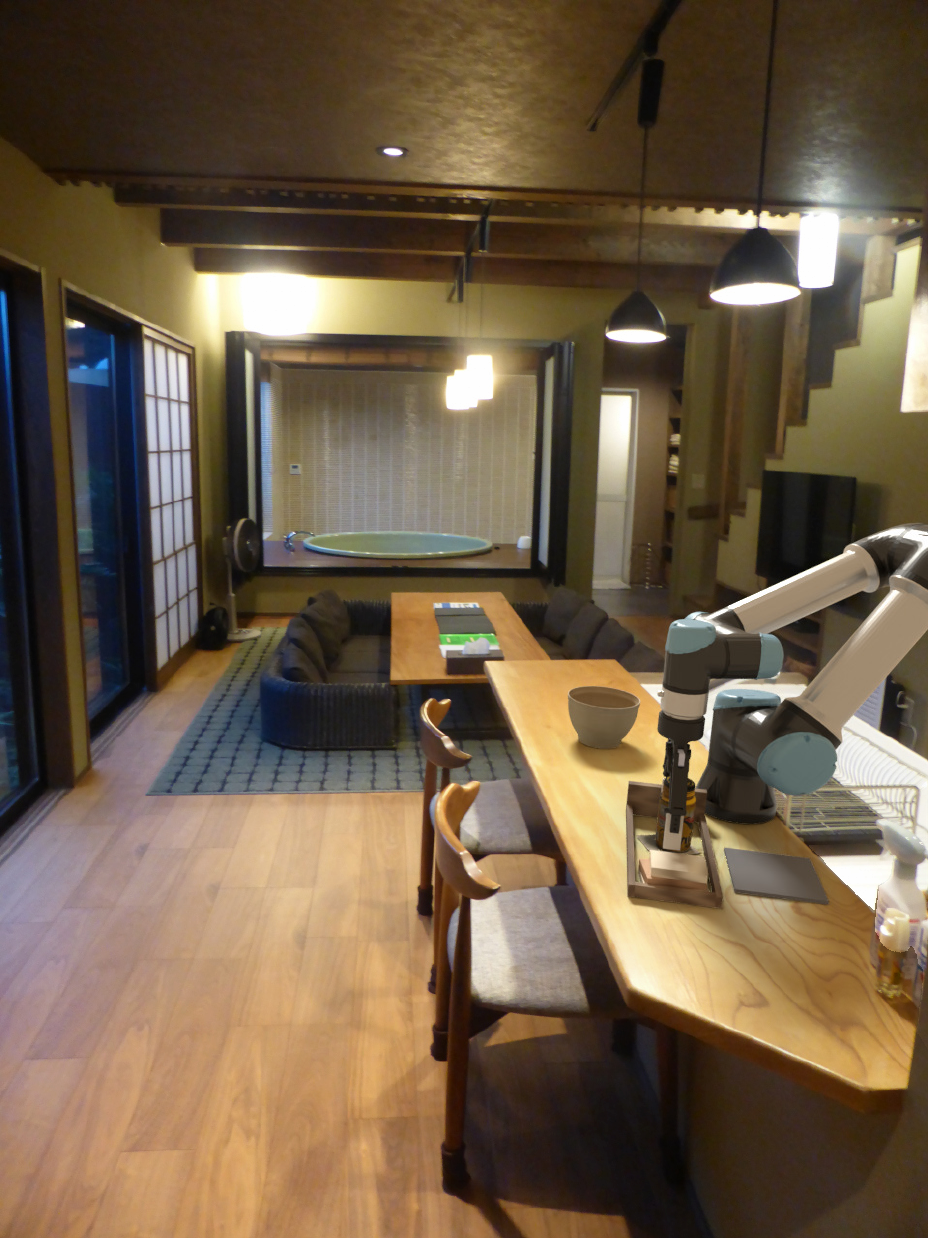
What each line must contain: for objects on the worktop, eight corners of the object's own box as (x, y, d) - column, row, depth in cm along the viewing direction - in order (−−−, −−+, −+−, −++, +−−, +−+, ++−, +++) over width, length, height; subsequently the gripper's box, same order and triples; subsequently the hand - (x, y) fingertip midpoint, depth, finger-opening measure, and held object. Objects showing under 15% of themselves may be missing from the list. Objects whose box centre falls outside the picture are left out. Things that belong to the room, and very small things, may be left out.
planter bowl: (604, 761, 188) (608, 712, 185) (549, 738, 200) (553, 692, 197) (650, 745, 198) (655, 699, 196) (595, 725, 210) (599, 681, 208)
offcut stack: (700, 879, 141) (703, 853, 140) (709, 902, 134) (712, 875, 133) (636, 874, 141) (639, 848, 140) (642, 897, 135) (645, 869, 134)
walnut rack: (702, 820, 162) (706, 789, 160) (721, 908, 132) (726, 872, 131) (625, 810, 164) (628, 780, 163) (627, 896, 134) (631, 860, 133)
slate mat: (809, 861, 148) (809, 858, 148) (828, 904, 135) (828, 901, 135) (723, 850, 150) (724, 847, 150) (734, 892, 137) (734, 889, 137)
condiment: (699, 854, 149) (707, 788, 146) (653, 857, 147) (661, 790, 144) (680, 834, 156) (687, 771, 153) (635, 837, 154) (642, 773, 151)
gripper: (656, 688, 159) (644, 798, 163) (663, 735, 135) (649, 862, 139) (698, 693, 157) (686, 802, 162) (713, 741, 133) (697, 868, 138)
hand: (669, 830), depth 151 cm, fingers open, 13 cm apart
